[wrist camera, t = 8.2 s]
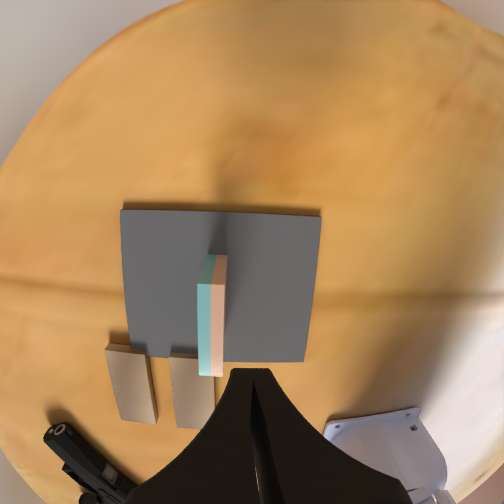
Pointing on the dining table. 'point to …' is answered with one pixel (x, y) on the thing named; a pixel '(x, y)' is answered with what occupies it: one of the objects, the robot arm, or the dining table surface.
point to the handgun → (88, 467)
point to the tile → (212, 315)
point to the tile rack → (142, 392)
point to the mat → (238, 280)
